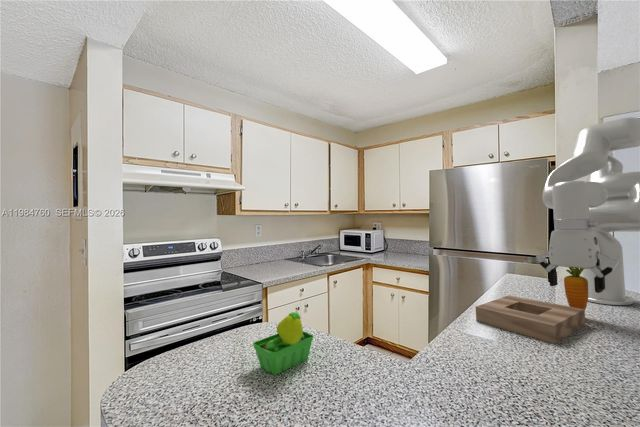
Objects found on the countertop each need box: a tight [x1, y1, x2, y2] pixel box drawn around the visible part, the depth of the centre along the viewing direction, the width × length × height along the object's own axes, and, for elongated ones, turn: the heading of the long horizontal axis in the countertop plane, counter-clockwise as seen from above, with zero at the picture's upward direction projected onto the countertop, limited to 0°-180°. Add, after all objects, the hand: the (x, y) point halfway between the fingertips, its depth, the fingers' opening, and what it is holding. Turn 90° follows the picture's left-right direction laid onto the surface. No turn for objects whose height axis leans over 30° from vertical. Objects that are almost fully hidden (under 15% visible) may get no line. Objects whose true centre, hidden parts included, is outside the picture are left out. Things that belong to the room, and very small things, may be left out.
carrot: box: [563, 267, 589, 310], centre depth 79 cm, size 5×5×15 cm
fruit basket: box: [252, 311, 314, 376], centre depth 61 cm, size 11×9×11 cm
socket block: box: [474, 294, 586, 344], centre depth 76 cm, size 18×18×4 cm
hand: (575, 288), depth 78 cm, fingers open, 9 cm apart
